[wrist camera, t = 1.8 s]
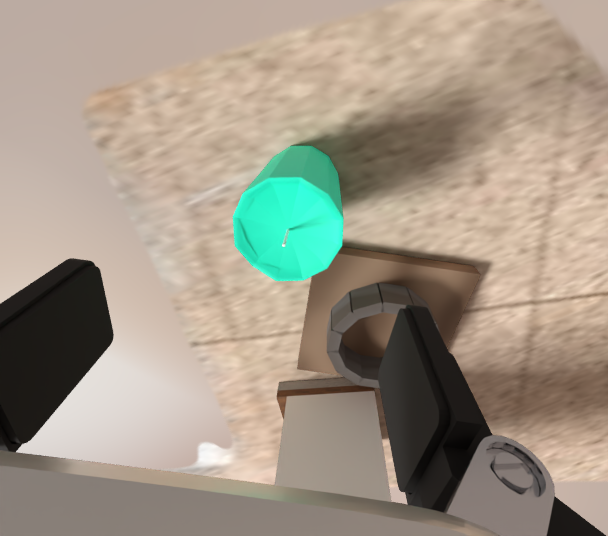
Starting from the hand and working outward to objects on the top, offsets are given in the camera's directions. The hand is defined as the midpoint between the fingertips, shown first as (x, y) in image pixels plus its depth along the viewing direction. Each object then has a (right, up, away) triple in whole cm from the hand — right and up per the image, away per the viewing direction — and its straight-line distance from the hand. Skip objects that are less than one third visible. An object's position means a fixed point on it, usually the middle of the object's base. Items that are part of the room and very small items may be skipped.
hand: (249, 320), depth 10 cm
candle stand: (+9, -3, +22) cm, 24 cm away
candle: (+2, +9, +16) cm, 18 cm away
